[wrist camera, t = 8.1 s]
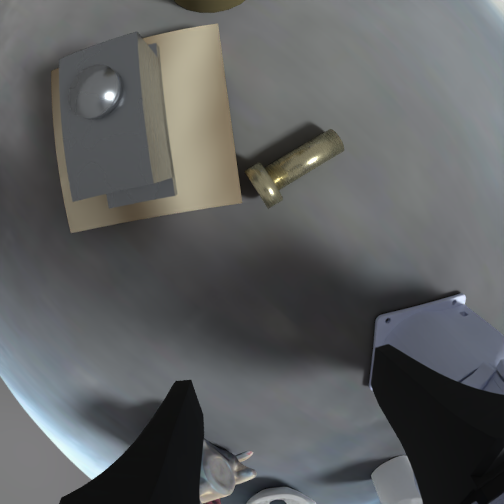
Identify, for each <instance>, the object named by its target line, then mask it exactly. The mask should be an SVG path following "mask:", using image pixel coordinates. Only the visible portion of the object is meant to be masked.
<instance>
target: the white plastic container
mask: <svg viewBox="0 0 504 504" xmlns="http://www.w3.org/2000/svg"><path fill="white" fill-rule="evenodd" d="M371 478H372V481H373V483H374V486H375V489H376V491H377V494H378V496H379V499H380V502H381V504H423V501H422V498H421V495H420V494H419V492H418V490H417V488H416V485H415V482H414V475H413V470H412V467H411V464H410V462H409V459H408V457H407V456H406V455H402V456H398V457H395V458H393V459H391V460H389V461H387V462H385V463H383V464H382V465H380V466H379V467H378V468H376V469H375V470H374V472H373V473H372V475H371Z"/></svg>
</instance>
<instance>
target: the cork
mask: <svg viewBox="0 0 504 504" xmlns="http://www.w3.org/2000/svg"><path fill="white" fill-rule="evenodd" d="M174 1H175V2H176V3H177V4H178V5H180V6H181V7H183V8H185V9H187V10H191V11H195V12H200V13H215V12H219V11H224V10H229V9H231V8H233V7H235V6H237V5H239V4H241V3H242V2H244V1H245V0H174Z"/></svg>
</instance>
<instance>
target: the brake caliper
mask: <svg viewBox="0 0 504 504" xmlns="http://www.w3.org/2000/svg"><path fill="white" fill-rule="evenodd" d="M252 454H253V452H251V451H246V452H244V453H241V454H238V455H236V456H234V455H233V454H232V453H230V452H228V451H225V450H222V449H220V448H218V447H216V446H214V445H213V444H211V443H210V442H208V441H207V440H205V439H204V442H203V453H202V463H201V474H200V490H199V493H200V504H203V503H204V504H221V502H220V498H222V497H226V496H228V495H230V494H231V493H232V492H233V490H234V488H235V485H236V484H240V483H243V482H245V481H248V480H251V479H253V478H254V477H256V475H257V473H256V471H255V470H253V469H251V468H248V467H246V466H244V465H243V464H241V463H240V462H242V461H244V460H246V459H248V458H249V457H250V456H251V455H252Z"/></svg>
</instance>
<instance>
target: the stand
mask: <svg viewBox="0 0 504 504" xmlns="http://www.w3.org/2000/svg"><path fill="white" fill-rule="evenodd" d="M143 40H144V41H145V42H146V43H147V45H149V44H153V43H157V45H158V46H159V49H160V61H161V72H162V82H163V91H164V100H165V109H166V117H167V125H168V132H169V140H170V147H171V154H172V161H173V167H174V174H175V180H176V187H177V193H178V194H177V195H176V196H171V197H166V198H160V199H155V200H150V201H144V202H139V203H134V204H129V205H124V206H119V207H115V208H110V209H109V207H108V201H107V196H106V194H104V195H99V196H95V197H91V198H87V199H83V200H79V201H75V202H72V197H71V191H70V186H69V180H68V173H67V167H66V160H65V152H64V144H63V134H62V124H61V111H60V92H59V68H57V69H55V70H52V71H51V92H52V112H53V126H54V137H55V146H56V154H57V162H58V169H59V176H60V182H61V188H62V193H63V199H64V204H65V209H66V214H67V218H68V223H69V227H70V232H71V233H75V232H80V231H84V230H89V229H94V228H99V227H104V226H109V225H114V224H119V223H125V222H130V221H135V220H141V219H146V218H152V217H157V216H163V215H169V214H175V213H181V212H187V211H193V210H199V209H206V208H212V207H219V206H226V205H232V204H239V203H242V198H241V190H240V183H239V176H238V168H237V161H236V154H235V147H234V139H233V132H232V125H231V117H230V110H229V102H228V95H227V88H226V80H225V73H224V65H223V58H222V50H221V43H220V35H219V28H218V24H211V25H205V26H198V27H193V28H187V29H182V30H177V31H172V32H167V33H163V34H159V35H154V36H150V37H146V38H143Z"/></svg>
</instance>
